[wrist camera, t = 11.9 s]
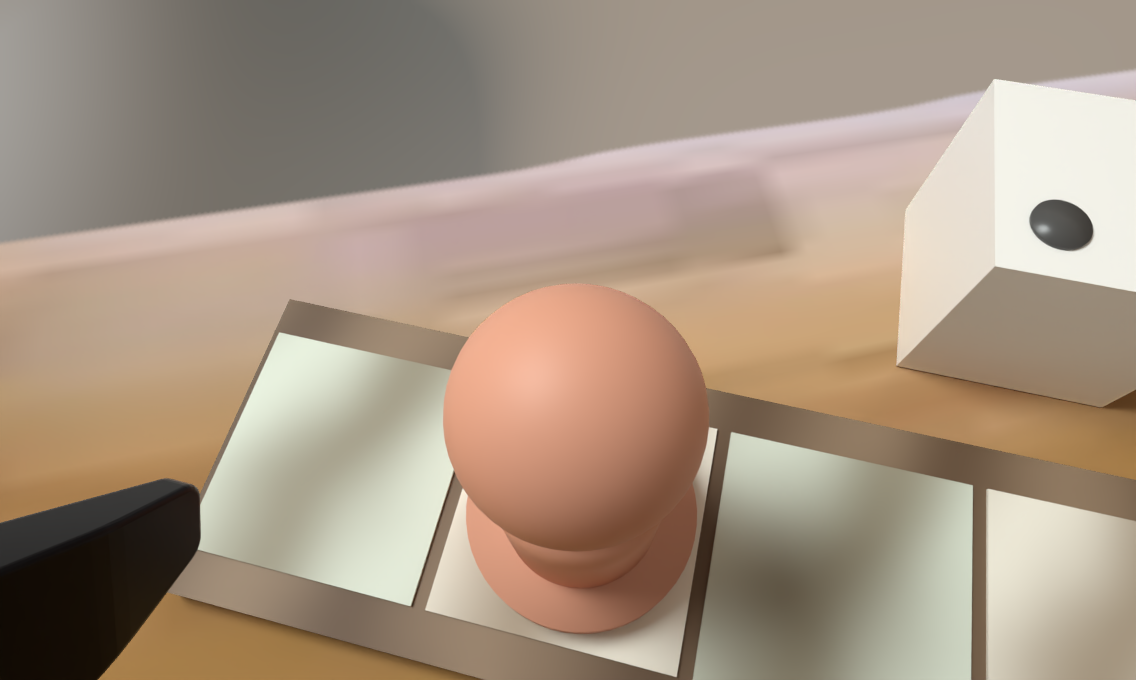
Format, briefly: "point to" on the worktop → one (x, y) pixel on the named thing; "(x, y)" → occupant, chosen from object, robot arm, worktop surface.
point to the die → (1028, 248)
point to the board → (720, 551)
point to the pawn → (578, 454)
